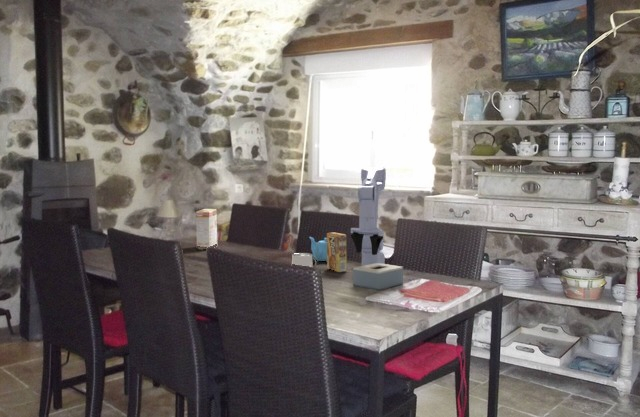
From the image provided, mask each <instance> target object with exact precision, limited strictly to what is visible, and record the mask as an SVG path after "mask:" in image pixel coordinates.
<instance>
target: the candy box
mask: <svg viewBox="0 0 640 417" xmlns="http://www.w3.org/2000/svg"><path fill="white" fill-rule="evenodd" d="M326 238H327V262H326V263H327V265H326V266H327V268H328V269H327V268H326V269H327V270H329V269H331V270H330V271H333V270H334V272H337V273H342V272H347V271H348V270H347V267H348V266H347V235H346V234H345V233H339V232H334V231H333V232H327V233H326Z"/></svg>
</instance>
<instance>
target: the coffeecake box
mask: <svg viewBox="0 0 640 417" xmlns="http://www.w3.org/2000/svg"><path fill="white" fill-rule="evenodd" d="M217 211H218V210H217V208H203V209H200V210H197V211H195V219H196V220H195V223H196V224H195V225H196V227H195V228H196V229H195V230H196V247H197V246H200V247H207V248H208V247H210V246H213V245H215V244H217V245H218V223H217V221H218V215H217Z"/></svg>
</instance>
